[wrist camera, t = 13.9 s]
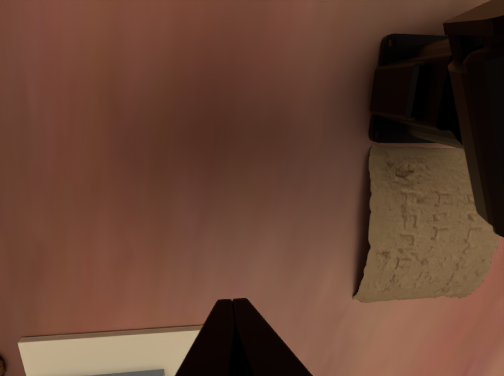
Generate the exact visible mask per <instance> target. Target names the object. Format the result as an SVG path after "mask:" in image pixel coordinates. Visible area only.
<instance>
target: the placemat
mask: <svg viewBox="0 0 504 376" xmlns="http://www.w3.org/2000/svg"><path fill="white" fill-rule="evenodd" d="M202 326H203V325H199V326H184V327H170V328H155V329H140V330H125V331H111V332H96V333H81V334H67V335H52V336H37V337H22V338H21V339H20V340H19V342H18V346H19V350H20V354H21V358H22V361H23V365H24V369H25V373H26V376H88V375H100V374H112V373H124V372H135V371H147V370H159V369H164V373H165V376H175V374H176V372H177V370H178V369H179V367H180V365H181V363H182V362H183V360H184V358H185V356H186V355H187V353H188V351H189V349H190V347H191V346H192V344H193V342H194V340H195V339H196V337H197V335H198V333H199V332H200V330H201V328H202Z"/></svg>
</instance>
